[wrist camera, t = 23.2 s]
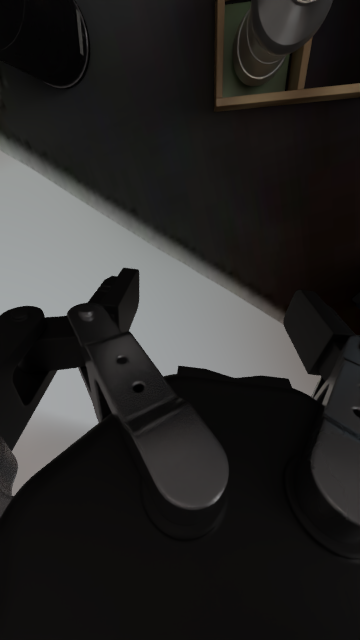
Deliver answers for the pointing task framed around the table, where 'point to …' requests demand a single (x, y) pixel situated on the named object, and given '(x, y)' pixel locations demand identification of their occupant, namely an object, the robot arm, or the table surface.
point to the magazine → (357, 300)
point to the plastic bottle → (274, 35)
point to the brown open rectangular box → (272, 93)
